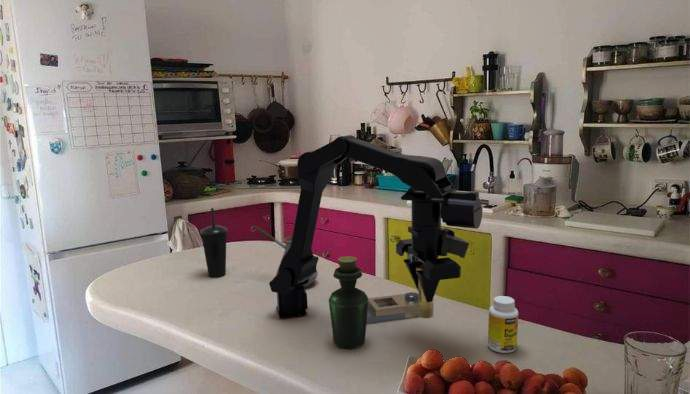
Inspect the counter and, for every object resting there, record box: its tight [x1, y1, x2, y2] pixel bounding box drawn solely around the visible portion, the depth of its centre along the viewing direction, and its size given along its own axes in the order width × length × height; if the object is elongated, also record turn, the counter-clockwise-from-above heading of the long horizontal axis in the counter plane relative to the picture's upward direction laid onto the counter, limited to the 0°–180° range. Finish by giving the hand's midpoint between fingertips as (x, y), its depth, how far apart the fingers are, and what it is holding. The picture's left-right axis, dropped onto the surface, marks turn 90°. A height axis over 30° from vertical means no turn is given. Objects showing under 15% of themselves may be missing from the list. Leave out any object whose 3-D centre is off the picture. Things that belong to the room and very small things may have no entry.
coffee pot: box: [249, 224, 319, 289], centre depth 140 cm, size 21×12×15 cm, turn 57°
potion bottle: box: [328, 255, 369, 350], centre depth 103 cm, size 8×8×18 cm
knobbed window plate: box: [366, 291, 420, 325], centre depth 117 cm, size 18×7×4 cm, turn 104°
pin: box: [416, 265, 434, 319], centre depth 101 cm, size 4×4×10 cm
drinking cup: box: [199, 207, 228, 279], centre depth 145 cm, size 8×8×20 cm
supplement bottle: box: [487, 295, 519, 354], centre depth 100 cm, size 6×6×10 cm
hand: (425, 298), depth 101 cm, fingers closed on pin, 3 cm apart
